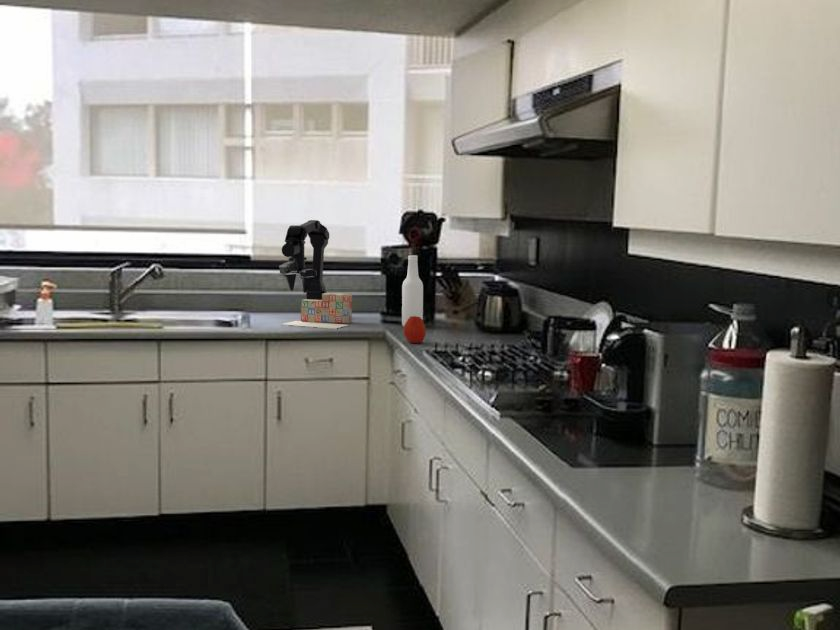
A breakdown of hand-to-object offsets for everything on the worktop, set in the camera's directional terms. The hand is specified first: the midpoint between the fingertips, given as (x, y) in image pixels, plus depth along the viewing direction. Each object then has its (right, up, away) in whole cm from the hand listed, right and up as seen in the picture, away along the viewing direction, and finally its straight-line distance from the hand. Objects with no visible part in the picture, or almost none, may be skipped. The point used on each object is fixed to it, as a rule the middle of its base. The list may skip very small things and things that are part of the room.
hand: (298, 291), depth 389 cm
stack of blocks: (+11, -13, +6) cm, 18 cm away
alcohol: (+49, -15, -3) cm, 51 cm away
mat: (+8, -14, -3) cm, 16 cm away
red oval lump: (+50, -21, -46) cm, 71 cm away
